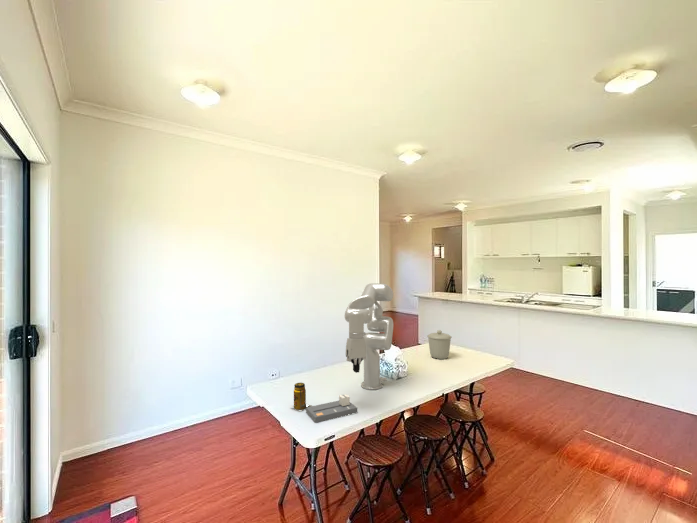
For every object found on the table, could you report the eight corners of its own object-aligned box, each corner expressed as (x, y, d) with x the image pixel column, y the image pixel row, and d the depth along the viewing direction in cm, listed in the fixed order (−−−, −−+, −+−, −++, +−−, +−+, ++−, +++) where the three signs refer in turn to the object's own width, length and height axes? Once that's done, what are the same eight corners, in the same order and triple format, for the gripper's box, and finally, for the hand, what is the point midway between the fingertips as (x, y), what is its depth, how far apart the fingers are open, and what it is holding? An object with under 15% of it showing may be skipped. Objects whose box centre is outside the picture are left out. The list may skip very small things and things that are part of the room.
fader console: (346, 403, 175) (345, 398, 175) (357, 412, 164) (357, 407, 164) (306, 412, 164) (306, 407, 164) (315, 422, 154) (315, 417, 154)
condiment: (290, 408, 170) (290, 384, 170) (302, 402, 176) (302, 379, 176) (299, 412, 165) (299, 387, 165) (312, 406, 172) (312, 383, 172)
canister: (446, 354, 269) (446, 327, 269) (455, 360, 251) (455, 332, 251) (424, 354, 268) (424, 328, 268) (431, 361, 250) (431, 332, 250)
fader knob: (346, 402, 170) (346, 393, 170) (349, 404, 167) (349, 396, 167) (339, 403, 168) (339, 395, 168) (342, 406, 165) (342, 398, 165)
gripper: (365, 332, 178) (365, 367, 177) (339, 335, 171) (339, 371, 170) (372, 335, 171) (372, 371, 171) (346, 338, 164) (346, 376, 164)
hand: (356, 371), depth 170 cm, fingers closed
